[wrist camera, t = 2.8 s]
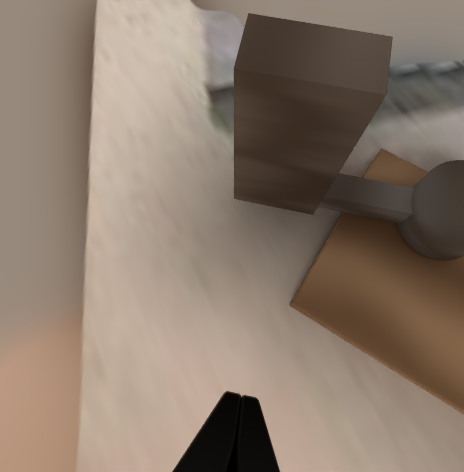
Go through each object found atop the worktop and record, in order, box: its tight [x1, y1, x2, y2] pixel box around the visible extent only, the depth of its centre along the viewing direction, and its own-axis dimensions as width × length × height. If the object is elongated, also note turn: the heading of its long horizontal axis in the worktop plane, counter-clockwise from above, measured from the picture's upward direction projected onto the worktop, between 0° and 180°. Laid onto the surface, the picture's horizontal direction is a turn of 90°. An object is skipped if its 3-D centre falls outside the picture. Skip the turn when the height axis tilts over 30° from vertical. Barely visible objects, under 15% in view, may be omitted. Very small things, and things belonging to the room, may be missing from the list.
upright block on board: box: [234, 13, 464, 261], centre depth 17 cm, size 20×5×11 cm, turn 78°
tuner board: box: [290, 149, 464, 414], centre depth 21 cm, size 12×14×2 cm
